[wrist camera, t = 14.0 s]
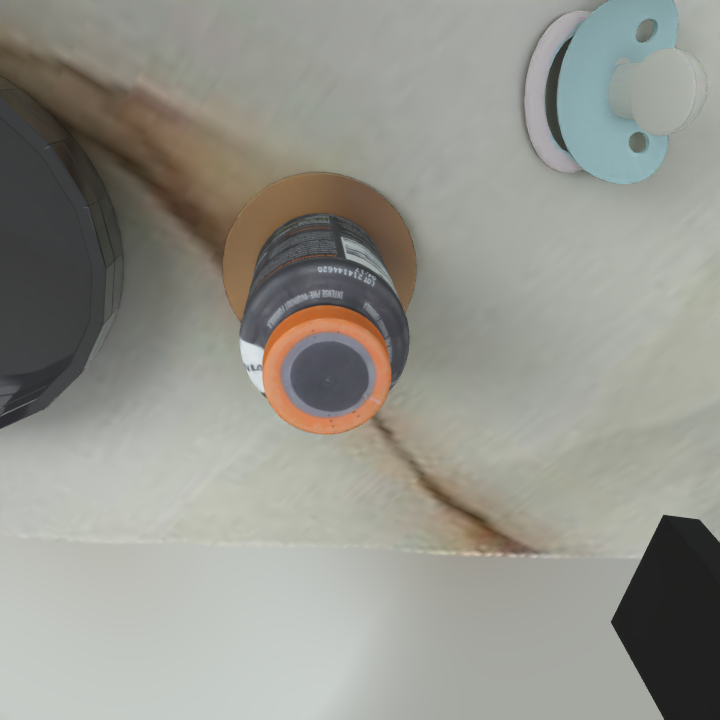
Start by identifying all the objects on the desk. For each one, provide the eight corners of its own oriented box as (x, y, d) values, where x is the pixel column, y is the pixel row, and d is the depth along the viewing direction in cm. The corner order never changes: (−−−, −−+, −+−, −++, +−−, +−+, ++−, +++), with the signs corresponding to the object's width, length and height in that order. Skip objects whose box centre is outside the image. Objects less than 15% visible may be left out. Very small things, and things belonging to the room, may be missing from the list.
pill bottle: (255, 332, 31) (228, 462, 20) (255, 207, 28) (224, 283, 18) (379, 336, 31) (413, 465, 21) (389, 214, 29) (433, 291, 19)
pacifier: (520, 185, 30) (650, 170, 29) (565, 212, 24) (726, 194, 24) (519, 5, 27) (664, -12, 26) (570, -14, 21) (755, -35, 21)
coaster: (212, 341, 31) (211, 346, 31) (237, 153, 28) (235, 154, 27) (391, 370, 33) (392, 375, 32) (435, 193, 29) (437, 195, 29)
